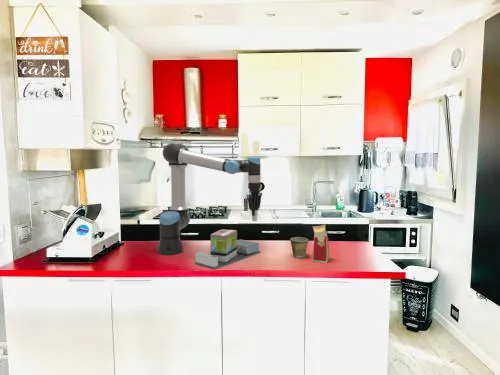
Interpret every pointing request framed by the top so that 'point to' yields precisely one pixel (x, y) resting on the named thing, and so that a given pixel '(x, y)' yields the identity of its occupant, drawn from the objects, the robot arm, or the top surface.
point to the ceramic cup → (299, 246)
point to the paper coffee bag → (320, 245)
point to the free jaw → (247, 246)
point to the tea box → (224, 244)
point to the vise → (213, 262)
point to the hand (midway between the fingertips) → (254, 220)
